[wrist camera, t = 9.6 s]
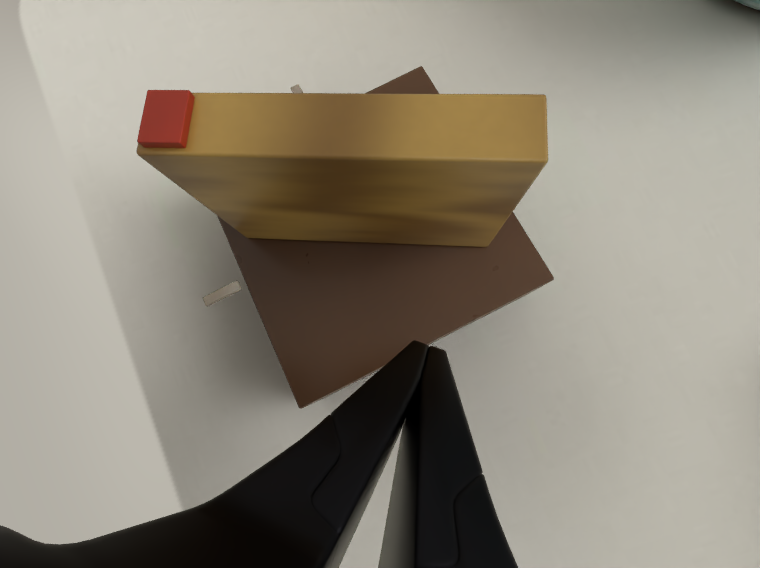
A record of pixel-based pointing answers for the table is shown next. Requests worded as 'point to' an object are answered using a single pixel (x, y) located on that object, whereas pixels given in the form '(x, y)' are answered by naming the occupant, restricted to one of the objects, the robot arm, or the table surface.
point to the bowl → (750, 3)
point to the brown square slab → (373, 291)
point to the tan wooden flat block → (351, 161)
